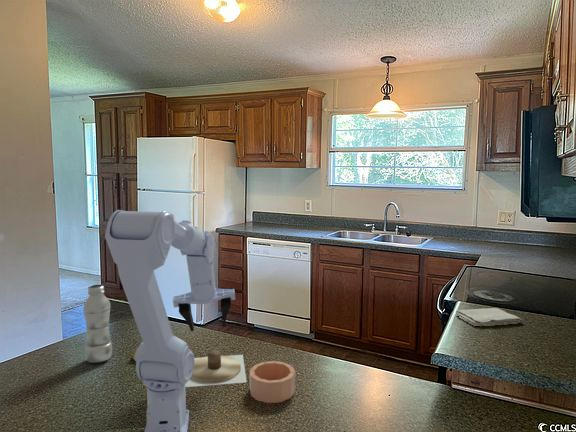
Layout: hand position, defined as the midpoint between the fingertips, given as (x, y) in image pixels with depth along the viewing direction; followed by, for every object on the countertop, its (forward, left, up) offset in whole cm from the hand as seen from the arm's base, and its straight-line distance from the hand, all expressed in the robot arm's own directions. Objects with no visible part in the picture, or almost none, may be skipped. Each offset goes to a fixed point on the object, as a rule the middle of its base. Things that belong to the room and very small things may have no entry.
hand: (208, 326), depth 104 cm
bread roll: (+10, +16, -12) cm, 22 cm away
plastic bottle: (+10, +29, -12) cm, 33 cm away
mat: (-1, -1, -11) cm, 12 cm away
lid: (-1, -1, -11) cm, 11 cm away
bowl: (-13, -14, -11) cm, 22 cm away
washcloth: (+23, -92, -12) cm, 96 cm away
